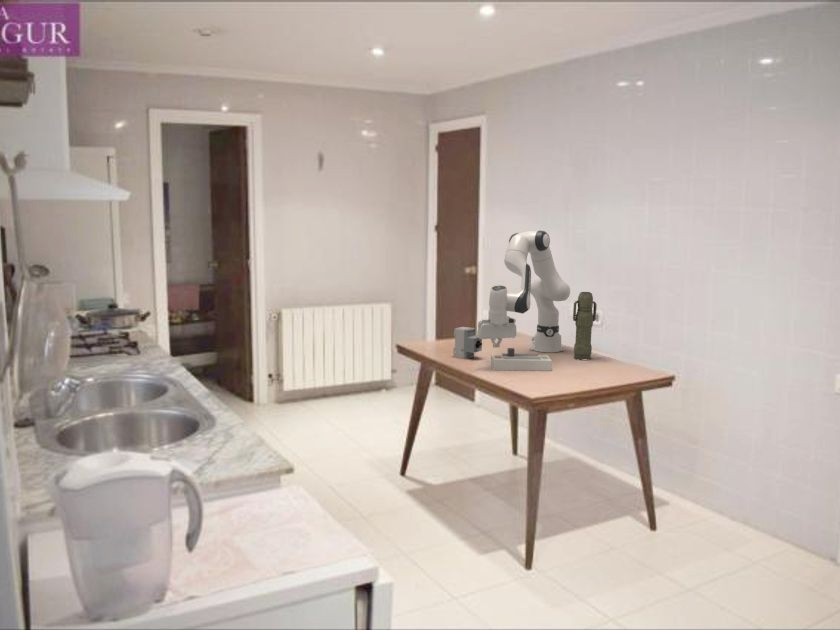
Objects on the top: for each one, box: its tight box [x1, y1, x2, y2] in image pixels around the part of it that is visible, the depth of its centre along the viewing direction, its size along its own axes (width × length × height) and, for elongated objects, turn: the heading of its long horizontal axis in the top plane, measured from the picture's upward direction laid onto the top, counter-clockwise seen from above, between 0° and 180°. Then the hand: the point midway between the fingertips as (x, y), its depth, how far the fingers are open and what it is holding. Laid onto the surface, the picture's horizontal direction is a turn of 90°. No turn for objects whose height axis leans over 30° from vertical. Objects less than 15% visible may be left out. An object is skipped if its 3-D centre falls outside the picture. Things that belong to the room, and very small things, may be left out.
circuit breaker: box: [452, 326, 483, 360], centre depth 375 cm, size 8×14×15 cm, turn 53°
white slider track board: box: [490, 353, 553, 372], centre depth 355 cm, size 13×28×6 cm, turn 91°
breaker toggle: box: [506, 347, 515, 357], centre depth 354 cm, size 3×3×4 cm
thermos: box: [572, 291, 597, 360], centre depth 376 cm, size 9×12×35 cm
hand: (496, 347), depth 354 cm, fingers closed
